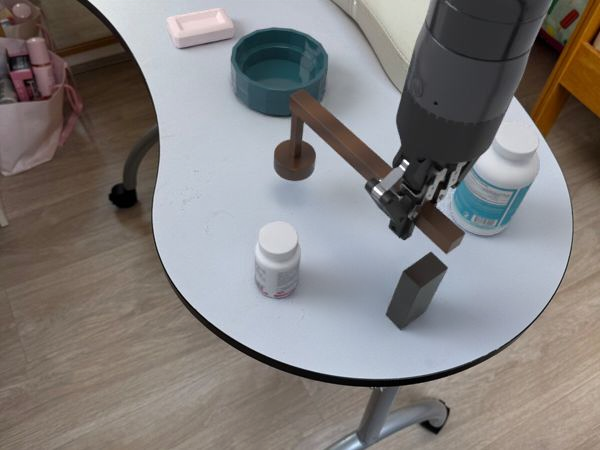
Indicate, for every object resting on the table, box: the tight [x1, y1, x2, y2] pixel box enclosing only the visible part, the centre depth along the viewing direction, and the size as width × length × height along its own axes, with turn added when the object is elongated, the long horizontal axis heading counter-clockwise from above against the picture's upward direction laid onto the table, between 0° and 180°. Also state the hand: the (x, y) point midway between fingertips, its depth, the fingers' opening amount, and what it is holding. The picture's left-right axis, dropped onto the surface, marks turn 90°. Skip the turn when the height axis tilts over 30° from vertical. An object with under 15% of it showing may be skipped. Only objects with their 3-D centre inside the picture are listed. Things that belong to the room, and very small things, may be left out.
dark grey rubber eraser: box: [385, 251, 449, 331], centre depth 60 cm, size 2×4×9 cm, turn 128°
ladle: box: [273, 89, 466, 255], centre depth 60 cm, size 24×5×11 cm, turn 38°
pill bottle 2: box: [450, 121, 541, 236], centre depth 67 cm, size 8×7×14 cm
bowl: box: [230, 26, 329, 116], centre depth 82 cm, size 13×13×5 cm
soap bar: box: [165, 6, 235, 49], centre depth 89 cm, size 5×9×2 cm, turn 113°
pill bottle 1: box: [254, 220, 302, 299], centre depth 62 cm, size 5×5×8 cm
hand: (408, 226), depth 55 cm, fingers closed on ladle
